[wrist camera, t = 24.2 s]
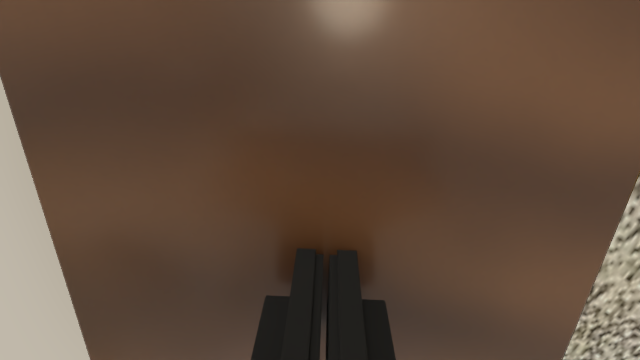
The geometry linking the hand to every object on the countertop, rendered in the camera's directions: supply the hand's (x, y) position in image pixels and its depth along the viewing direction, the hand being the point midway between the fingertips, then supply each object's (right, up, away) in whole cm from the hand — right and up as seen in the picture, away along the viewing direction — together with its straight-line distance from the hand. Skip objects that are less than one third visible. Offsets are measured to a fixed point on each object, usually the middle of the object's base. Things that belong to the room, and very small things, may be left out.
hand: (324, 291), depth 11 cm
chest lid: (0, +4, -1) cm, 5 cm away
